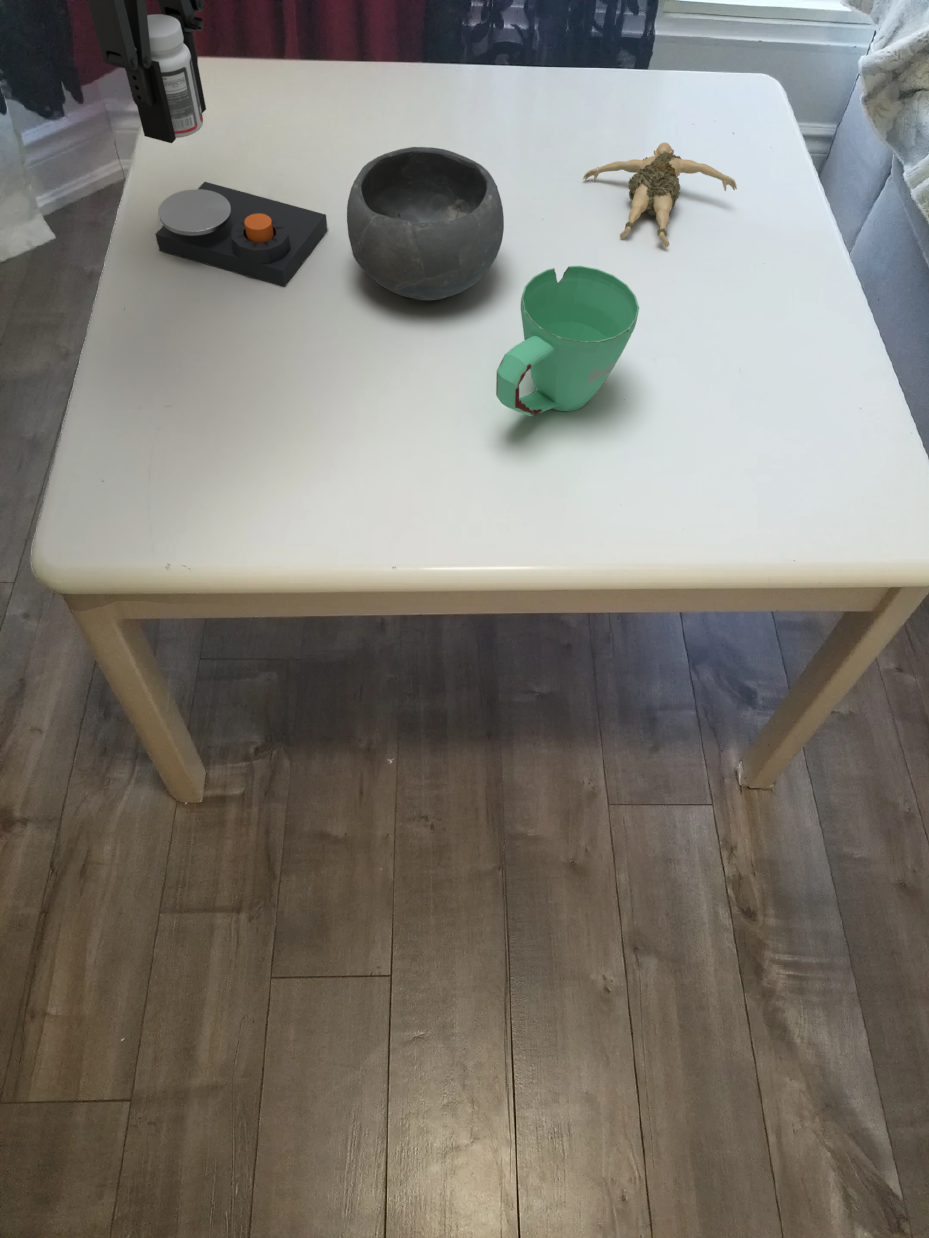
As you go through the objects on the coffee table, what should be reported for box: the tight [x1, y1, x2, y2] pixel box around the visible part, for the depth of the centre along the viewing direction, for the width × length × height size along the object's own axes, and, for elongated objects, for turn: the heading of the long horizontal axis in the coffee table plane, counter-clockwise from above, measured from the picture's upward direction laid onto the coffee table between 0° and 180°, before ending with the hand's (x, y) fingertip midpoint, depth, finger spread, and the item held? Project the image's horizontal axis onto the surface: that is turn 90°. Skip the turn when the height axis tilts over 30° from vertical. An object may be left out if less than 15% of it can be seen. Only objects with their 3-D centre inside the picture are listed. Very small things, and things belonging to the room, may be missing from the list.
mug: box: [495, 265, 640, 417], centre depth 79 cm, size 15×10×10 cm
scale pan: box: [157, 188, 232, 236], centre depth 90 cm, size 7×7×1 cm
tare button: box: [244, 214, 274, 242], centre depth 89 cm, size 3×3×2 cm
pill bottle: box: [135, 13, 204, 139], centre depth 79 cm, size 5×5×8 cm
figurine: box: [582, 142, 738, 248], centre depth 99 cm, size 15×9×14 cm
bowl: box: [346, 146, 505, 301], centre depth 88 cm, size 15×15×10 cm
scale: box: [154, 181, 328, 287], centre depth 92 cm, size 14×10×4 cm
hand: (175, 122), depth 83 cm, fingers closed on pill bottle, 5 cm apart
